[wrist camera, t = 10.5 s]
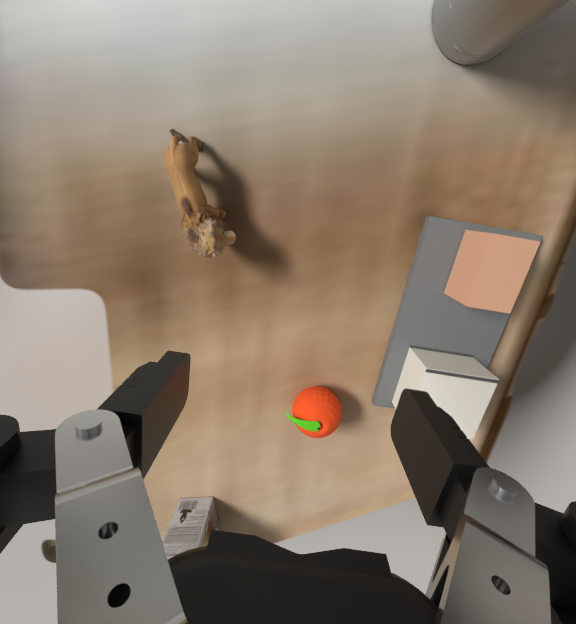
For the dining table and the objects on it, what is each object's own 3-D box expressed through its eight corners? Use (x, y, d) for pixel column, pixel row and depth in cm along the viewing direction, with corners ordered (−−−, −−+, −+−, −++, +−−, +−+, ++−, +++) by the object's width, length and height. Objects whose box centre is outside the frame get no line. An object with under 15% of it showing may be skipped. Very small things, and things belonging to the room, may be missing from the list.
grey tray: (426, 216, 38) (454, 217, 31) (535, 235, 38) (587, 241, 31) (371, 400, 47) (384, 432, 40) (461, 414, 47) (489, 448, 40)
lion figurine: (249, 239, 39) (236, 248, 31) (213, 256, 40) (191, 270, 32) (191, 120, 35) (158, 92, 27) (152, 142, 36) (108, 122, 27)
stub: (465, 229, 37) (493, 233, 32) (505, 236, 37) (540, 241, 32) (443, 293, 39) (466, 306, 34) (481, 299, 40) (510, 313, 34)
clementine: (282, 411, 48) (280, 445, 41) (289, 372, 45) (288, 401, 39) (332, 419, 48) (339, 454, 41) (342, 381, 46) (350, 411, 39)
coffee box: (222, 532, 57) (195, 652, 41) (188, 534, 57) (149, 653, 42) (213, 495, 54) (181, 609, 38) (177, 497, 54) (131, 610, 39)
